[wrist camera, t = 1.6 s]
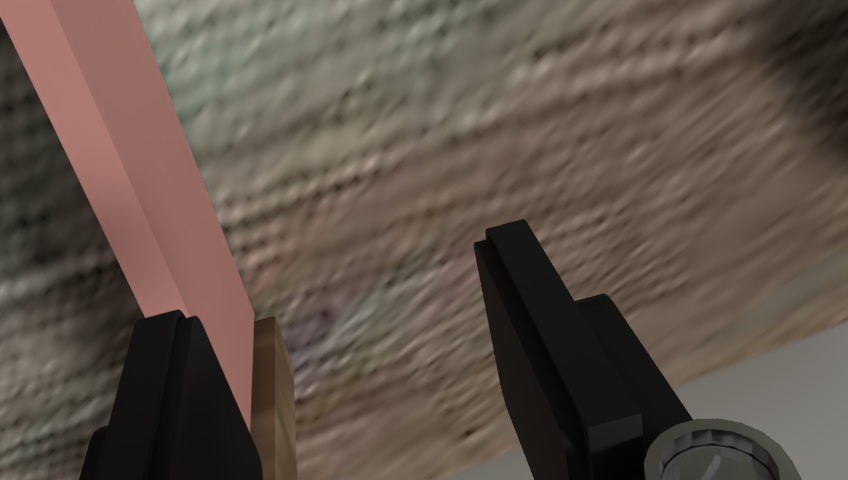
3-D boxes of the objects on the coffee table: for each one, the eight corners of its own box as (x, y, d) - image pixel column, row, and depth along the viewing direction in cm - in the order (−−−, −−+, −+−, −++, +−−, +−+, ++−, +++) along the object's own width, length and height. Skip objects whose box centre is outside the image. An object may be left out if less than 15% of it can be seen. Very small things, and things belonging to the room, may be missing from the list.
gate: (29, -134, 24) (-78, -105, 16) (78, -145, 24) (-7, -121, 16) (219, 320, 33) (204, 467, 25) (254, 310, 33) (248, 455, 26)
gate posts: (-47, -255, 22) (-366, -309, 11) (64, -279, 22) (-141, -357, 11) (231, 387, 35) (212, 661, 24) (301, 369, 35) (314, 632, 24)
